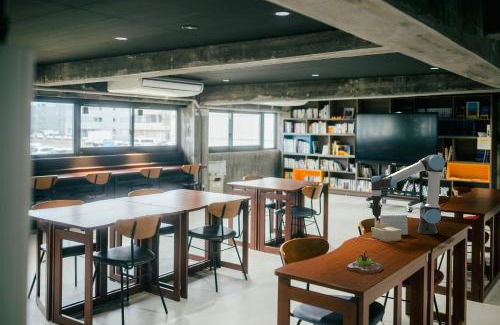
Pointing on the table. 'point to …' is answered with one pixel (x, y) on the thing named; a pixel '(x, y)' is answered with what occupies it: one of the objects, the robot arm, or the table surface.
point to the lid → (384, 228)
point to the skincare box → (396, 222)
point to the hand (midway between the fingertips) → (376, 224)
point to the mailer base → (387, 236)
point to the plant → (364, 265)
